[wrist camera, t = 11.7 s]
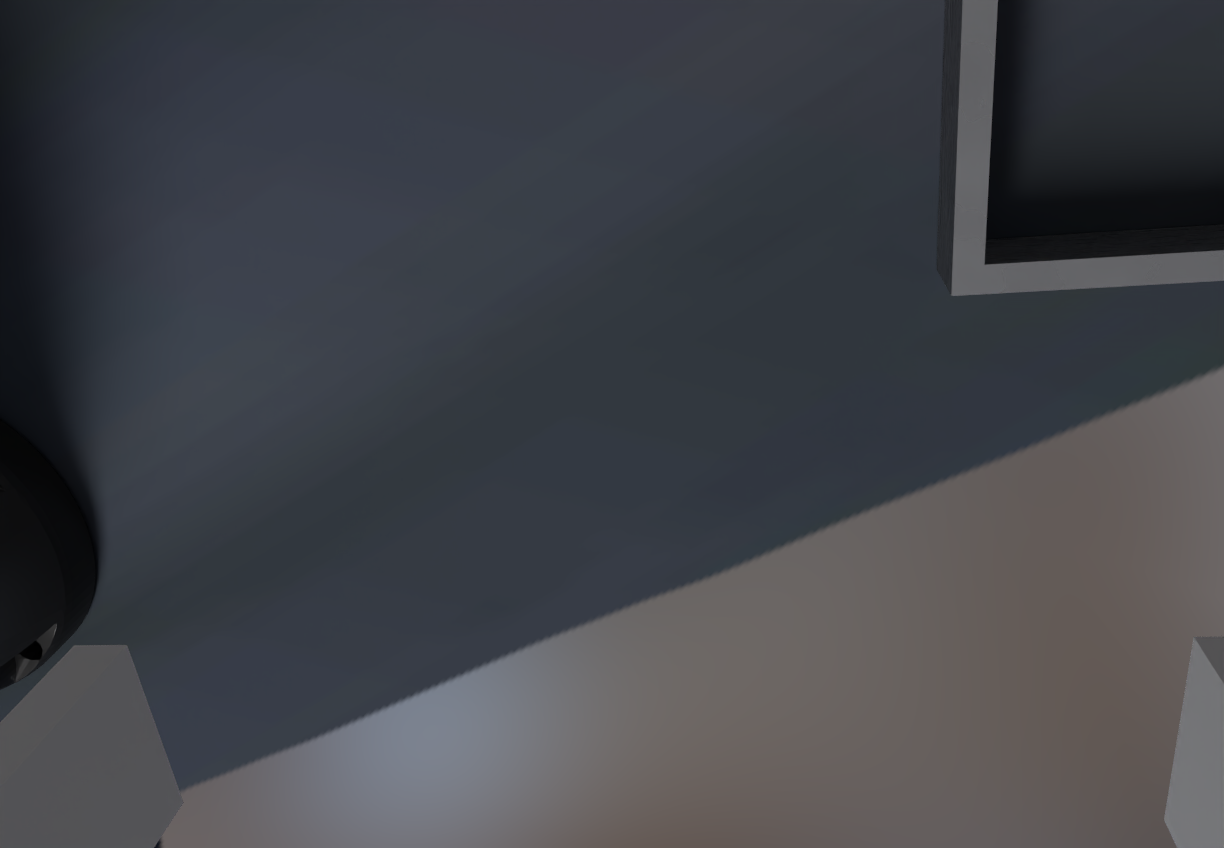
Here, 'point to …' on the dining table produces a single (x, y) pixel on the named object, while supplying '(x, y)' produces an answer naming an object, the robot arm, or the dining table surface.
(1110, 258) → the grey divided tray
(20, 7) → the dining table surface
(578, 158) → the dining table surface
